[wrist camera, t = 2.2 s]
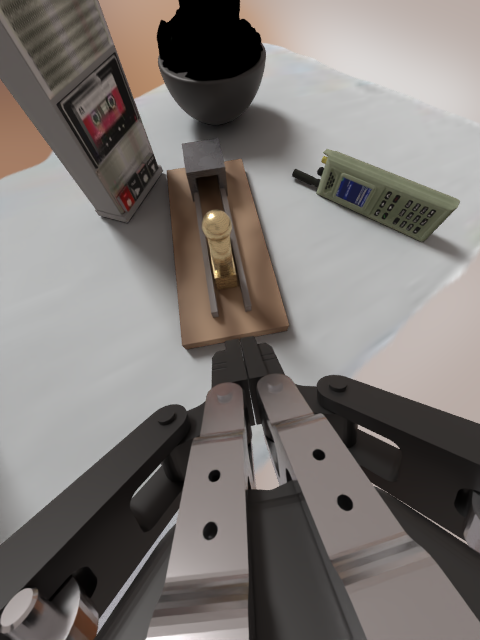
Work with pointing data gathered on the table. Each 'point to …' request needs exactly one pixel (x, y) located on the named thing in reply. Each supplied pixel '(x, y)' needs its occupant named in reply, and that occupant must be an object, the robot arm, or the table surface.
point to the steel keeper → (204, 163)
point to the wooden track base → (197, 270)
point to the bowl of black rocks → (211, 59)
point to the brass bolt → (220, 248)
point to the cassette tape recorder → (78, 98)
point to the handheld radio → (381, 195)
